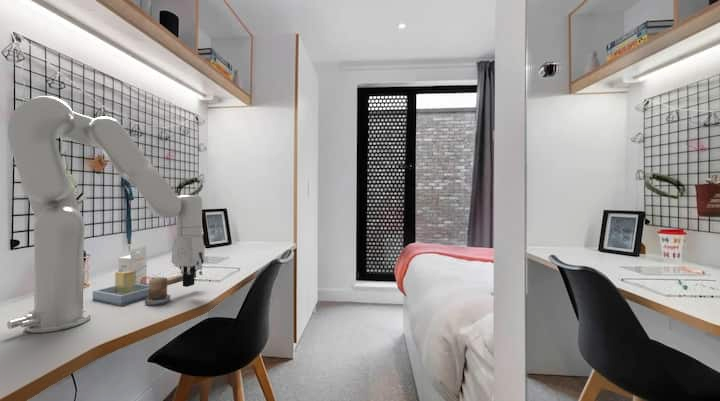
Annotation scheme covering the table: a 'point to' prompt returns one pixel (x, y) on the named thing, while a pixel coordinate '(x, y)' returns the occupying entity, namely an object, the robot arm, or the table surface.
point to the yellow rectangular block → (125, 282)
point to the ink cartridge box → (135, 264)
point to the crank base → (157, 301)
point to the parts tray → (110, 297)
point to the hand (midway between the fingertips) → (188, 285)
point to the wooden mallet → (162, 286)
